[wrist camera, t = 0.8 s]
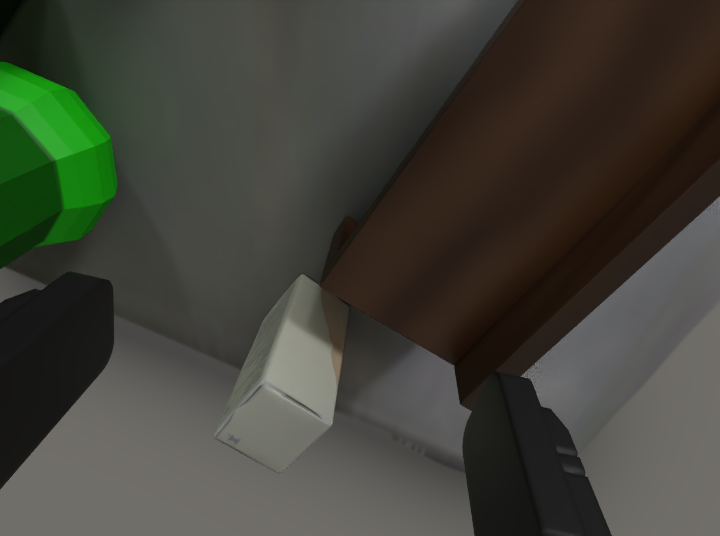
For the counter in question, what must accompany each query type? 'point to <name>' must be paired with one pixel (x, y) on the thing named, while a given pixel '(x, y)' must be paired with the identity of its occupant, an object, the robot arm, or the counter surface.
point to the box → (288, 378)
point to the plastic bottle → (49, 164)
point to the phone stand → (7, 10)
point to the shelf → (541, 182)
